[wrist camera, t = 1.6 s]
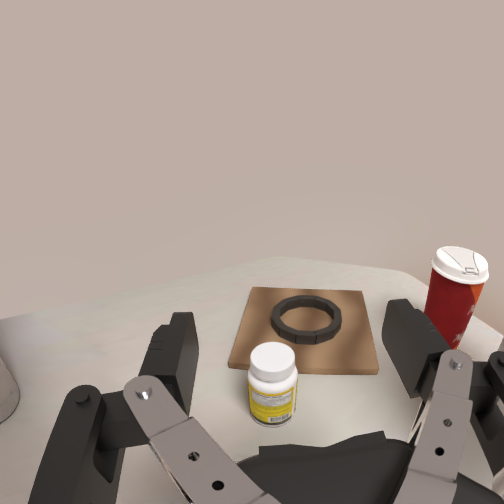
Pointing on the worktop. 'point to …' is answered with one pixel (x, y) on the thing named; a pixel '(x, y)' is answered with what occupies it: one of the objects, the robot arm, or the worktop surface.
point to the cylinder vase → (477, 454)
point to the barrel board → (309, 330)
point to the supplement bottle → (272, 384)
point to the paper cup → (454, 290)
